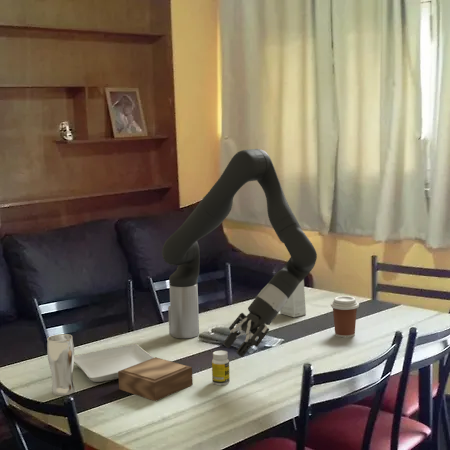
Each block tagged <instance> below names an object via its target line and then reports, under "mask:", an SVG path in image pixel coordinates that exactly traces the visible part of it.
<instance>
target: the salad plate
mask: <svg viewBox="0 0 450 450" xmlns="http://www.w3.org/2000/svg"><path fill="white" fill-rule="evenodd" d="M152 358H155V357H154V356H153V355H151V354H150V353H149V352H147V351H146V350H144V348H142V347H141V346H140V345H138V344H137V343H131V344H125V345H120V346H115V347H111V348H110V347H109V348H104V349H100V350H95V351H90V352H86V353H81V354H74V365H75V366H77V367H78V368H79V369H80V370H82V372H84V374H85V376H87V377H88V379H89V380H90V381H92V382H93V383H101V382H107V381H112V380H117V379H118V380H119V378H118V371H121V370H123V369H126V368H129V367H131V366H134V365H136V364H139V363H142V362H144V361H147V360H150V359H152Z"/></svg>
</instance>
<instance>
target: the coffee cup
mask: <svg viewBox="0 0 450 450" xmlns="http://www.w3.org/2000/svg"><path fill="white" fill-rule="evenodd" d="M330 307H331V308H332V314H333V325H334V335H335V336H336V337H339V338H352V337H355V335H356V322H357V312H358V308H359V307H360V303H359V302H358V301H357V300H356V298H355V297H354V296H349V295H340V296H336V297H333V301H331V302H330Z"/></svg>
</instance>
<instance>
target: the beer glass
mask: <svg viewBox="0 0 450 450" xmlns="http://www.w3.org/2000/svg"><path fill="white" fill-rule="evenodd" d="M46 341H47V343H46V347H47V351H46V352H47V353H46V354H47V361H48V365H49V369H50V372H51V374H50V375H51V378H52V379H51V380H52V386H51V394H52V395H53V396H56V397H62V396H69V395H71V394H73V393H74V392H76V388H75V383H74V379H73V378H74V377H73V375H74V365H75V364H74V356H75V346H74V340H73V335H71V334H66V333H61V334H60V333H59V334H53V335H50V336H49V337H48V338H47V339H46Z"/></svg>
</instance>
